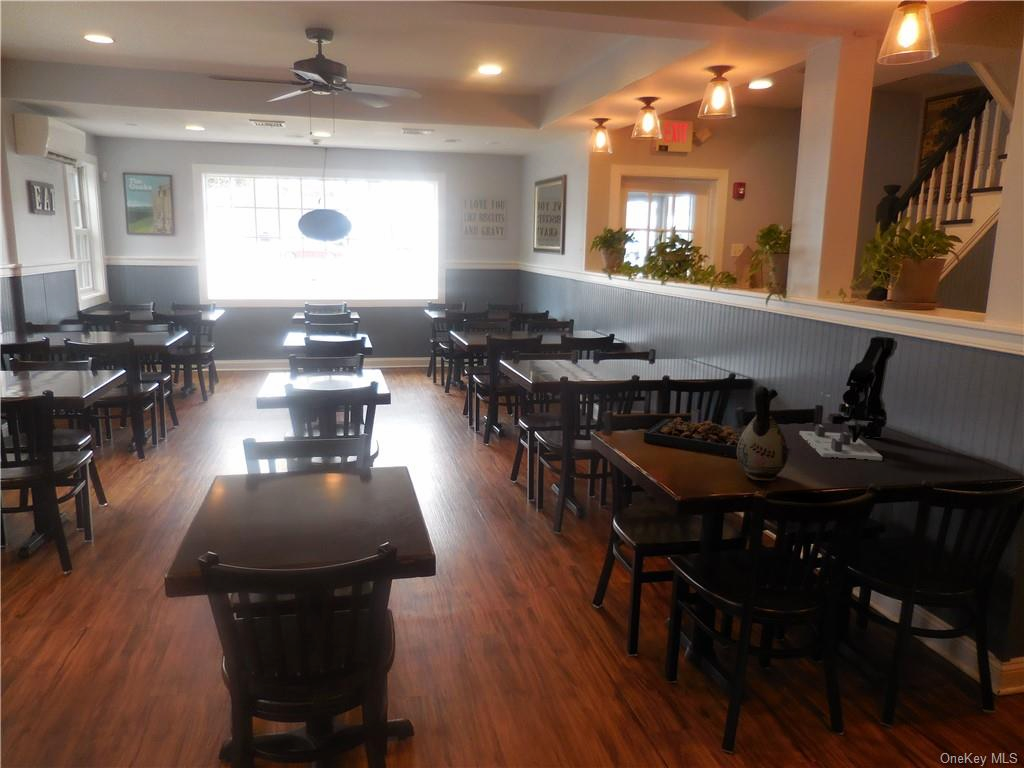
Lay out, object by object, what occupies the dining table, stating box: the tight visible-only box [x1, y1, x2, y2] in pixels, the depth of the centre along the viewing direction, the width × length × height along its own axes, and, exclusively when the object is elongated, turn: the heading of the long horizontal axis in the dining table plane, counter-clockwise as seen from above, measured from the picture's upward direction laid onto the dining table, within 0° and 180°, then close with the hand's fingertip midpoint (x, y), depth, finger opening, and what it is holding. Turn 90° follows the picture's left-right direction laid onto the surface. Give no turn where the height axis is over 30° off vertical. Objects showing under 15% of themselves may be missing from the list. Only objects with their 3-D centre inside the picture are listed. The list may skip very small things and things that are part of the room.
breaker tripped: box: [839, 431, 851, 444], centre depth 266 cm, size 2×4×4 cm, turn 173°
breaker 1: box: [814, 424, 826, 436], centre depth 276 cm, size 2×4×4 cm, turn 173°
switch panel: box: [799, 430, 883, 462], centre depth 267 cm, size 20×30×2 cm, turn 173°
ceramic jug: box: [736, 385, 789, 482], centre depth 226 cm, size 17×15×30 cm
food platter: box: [643, 416, 744, 458], centre depth 264 cm, size 45×25×10 cm, turn 60°
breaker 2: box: [831, 438, 843, 451], centre depth 257 cm, size 2×4×4 cm, turn 173°
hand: (853, 442), depth 266 cm, fingers closed
